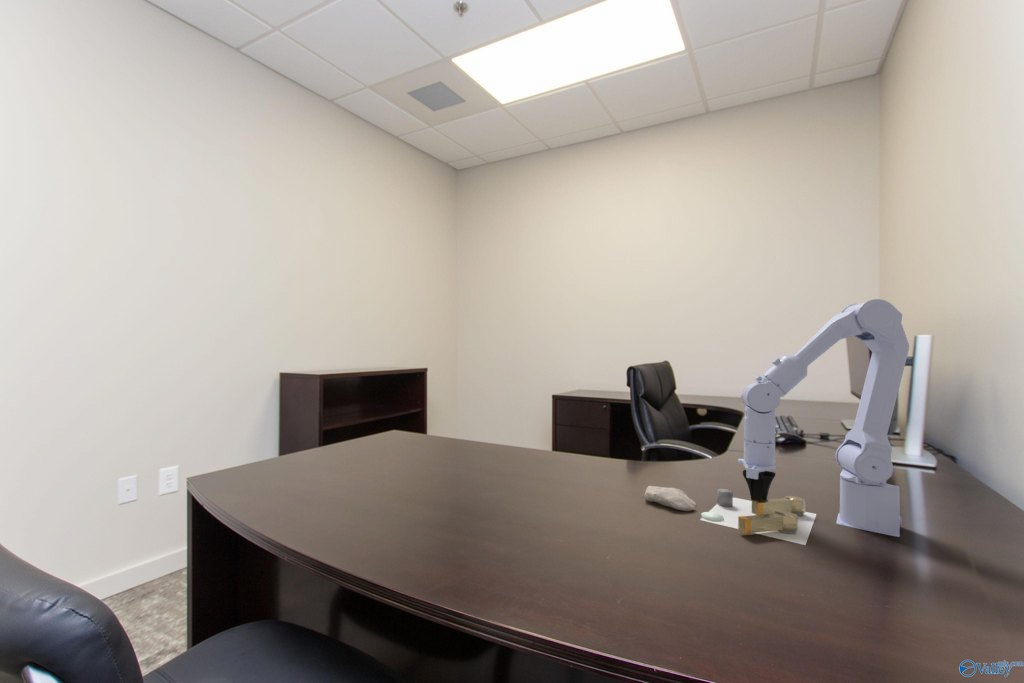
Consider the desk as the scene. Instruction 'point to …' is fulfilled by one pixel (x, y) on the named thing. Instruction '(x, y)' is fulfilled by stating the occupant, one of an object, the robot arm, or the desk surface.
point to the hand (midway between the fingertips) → (758, 506)
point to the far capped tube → (778, 505)
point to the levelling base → (734, 507)
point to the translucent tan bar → (768, 522)
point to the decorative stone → (669, 498)
